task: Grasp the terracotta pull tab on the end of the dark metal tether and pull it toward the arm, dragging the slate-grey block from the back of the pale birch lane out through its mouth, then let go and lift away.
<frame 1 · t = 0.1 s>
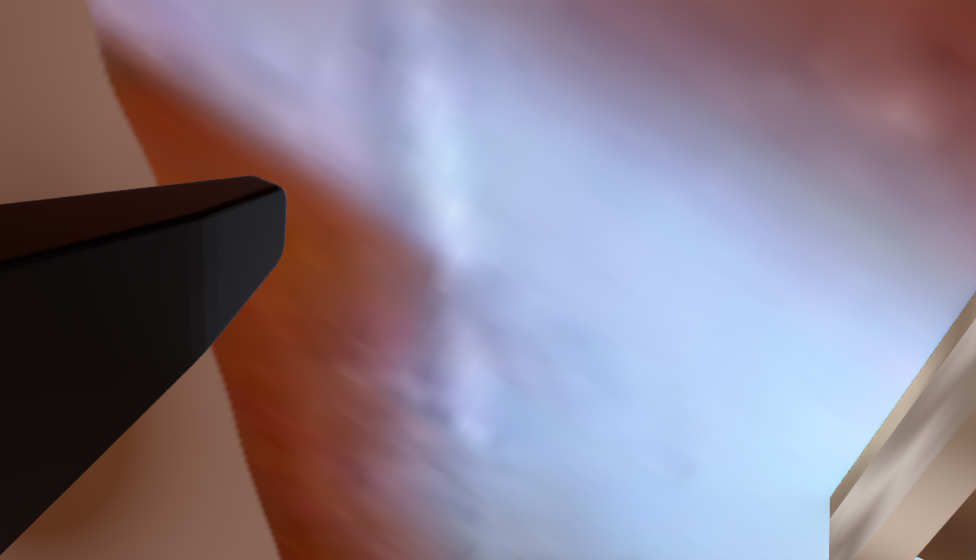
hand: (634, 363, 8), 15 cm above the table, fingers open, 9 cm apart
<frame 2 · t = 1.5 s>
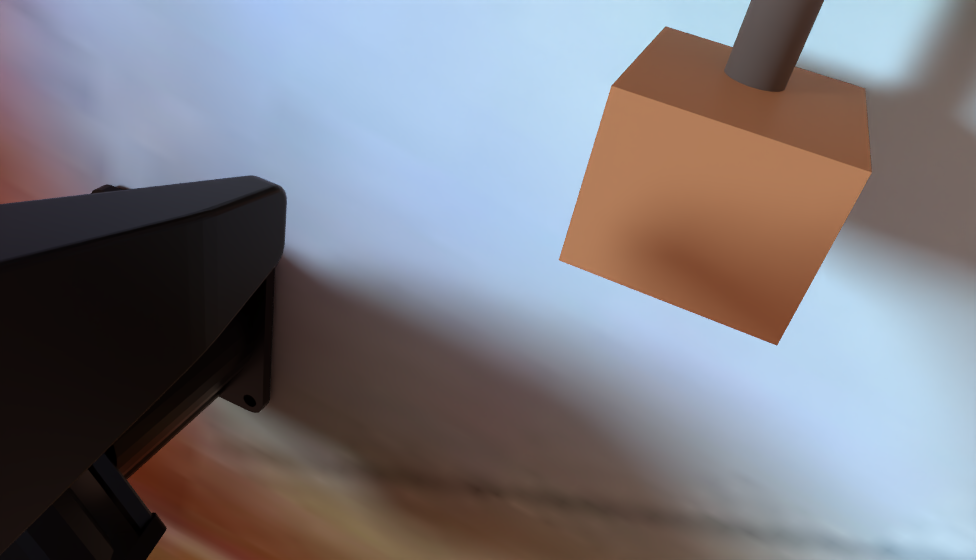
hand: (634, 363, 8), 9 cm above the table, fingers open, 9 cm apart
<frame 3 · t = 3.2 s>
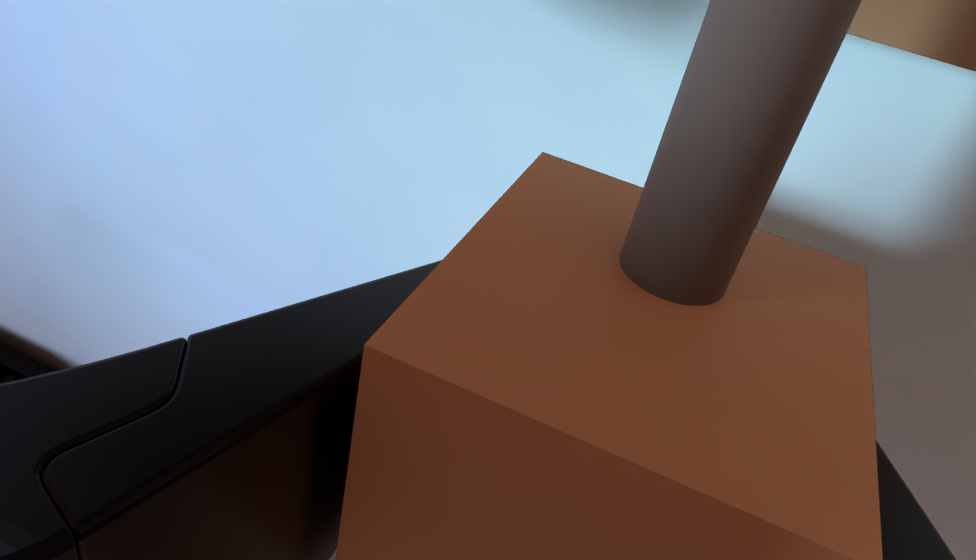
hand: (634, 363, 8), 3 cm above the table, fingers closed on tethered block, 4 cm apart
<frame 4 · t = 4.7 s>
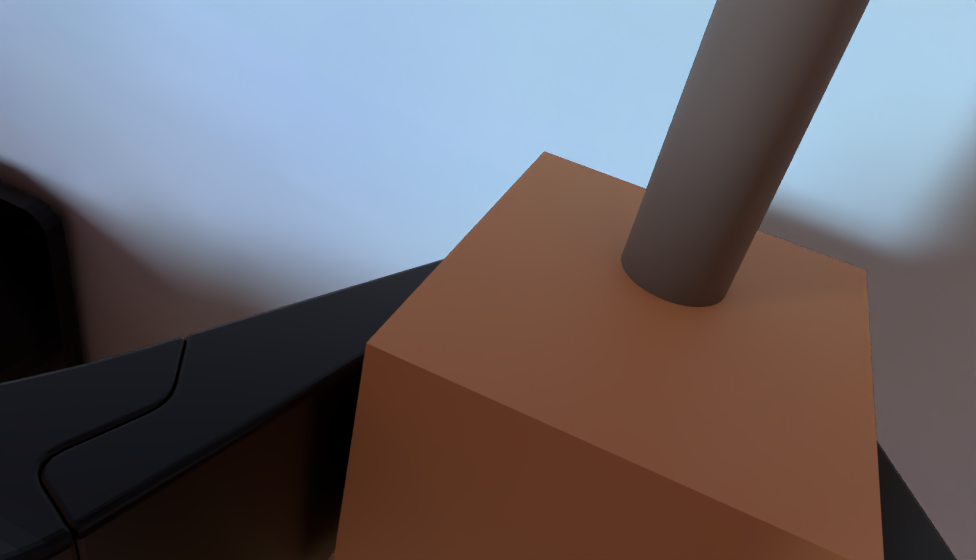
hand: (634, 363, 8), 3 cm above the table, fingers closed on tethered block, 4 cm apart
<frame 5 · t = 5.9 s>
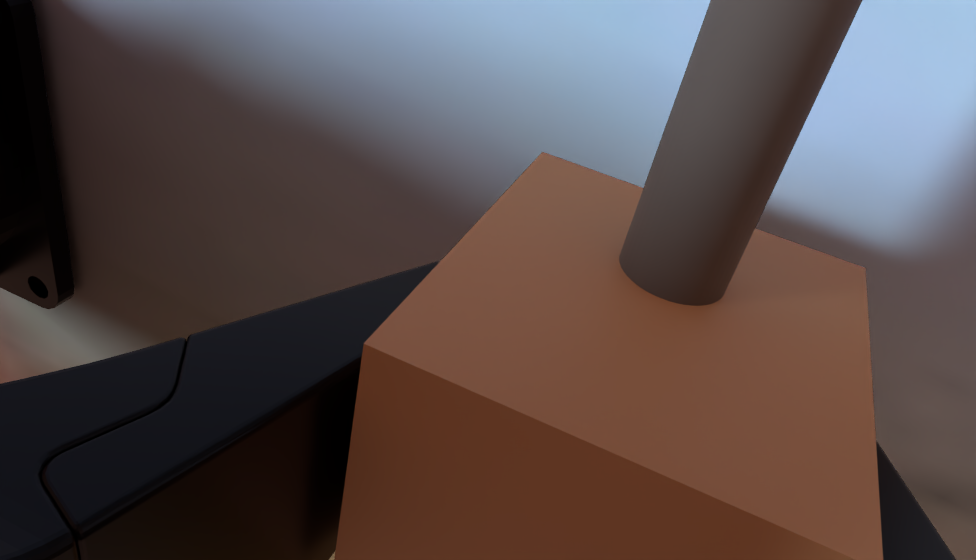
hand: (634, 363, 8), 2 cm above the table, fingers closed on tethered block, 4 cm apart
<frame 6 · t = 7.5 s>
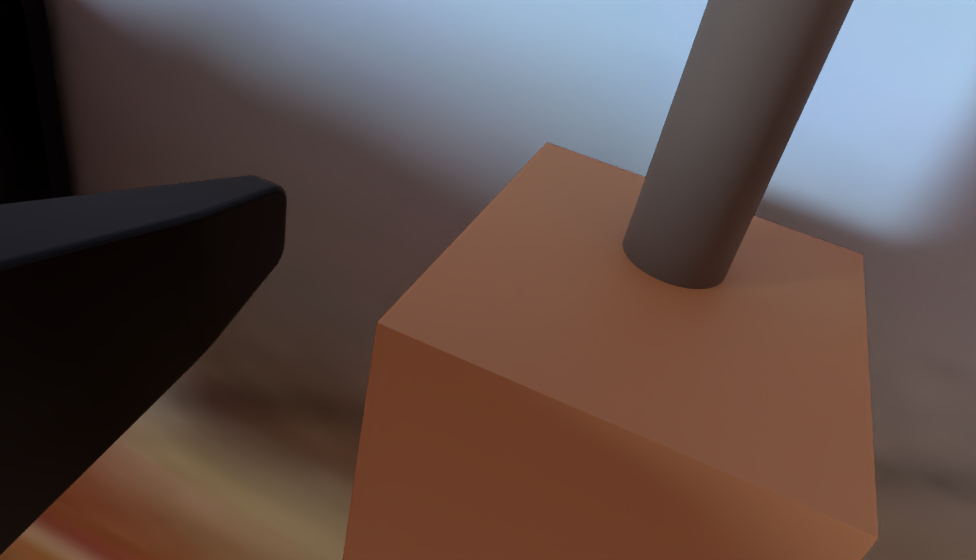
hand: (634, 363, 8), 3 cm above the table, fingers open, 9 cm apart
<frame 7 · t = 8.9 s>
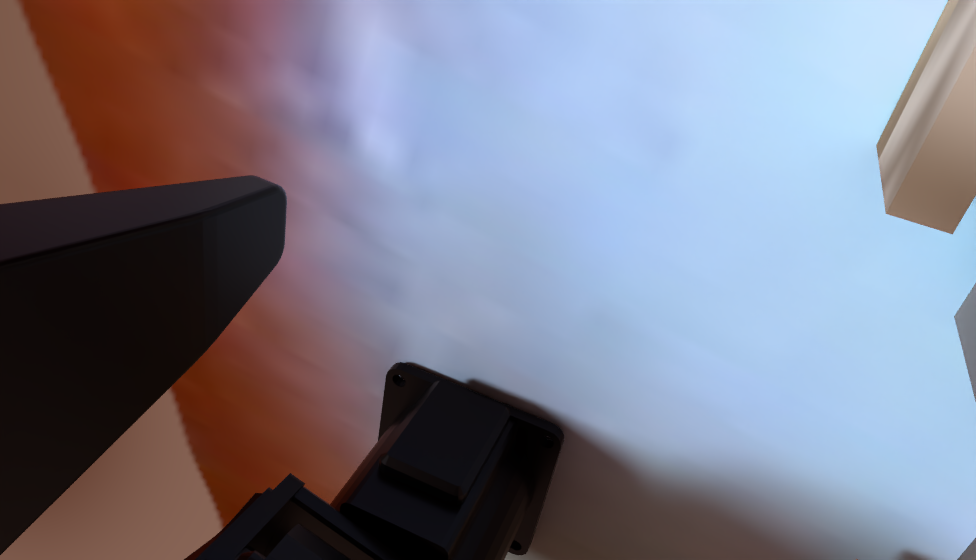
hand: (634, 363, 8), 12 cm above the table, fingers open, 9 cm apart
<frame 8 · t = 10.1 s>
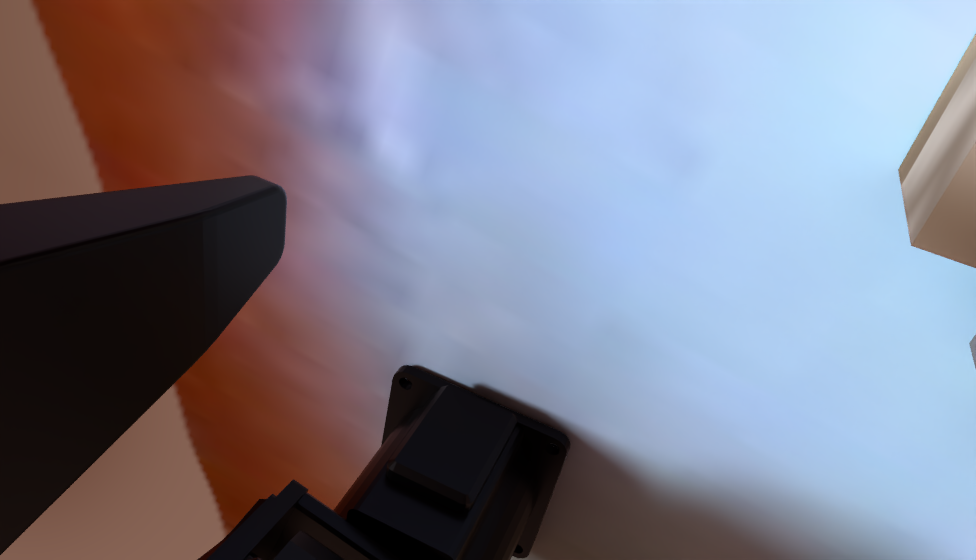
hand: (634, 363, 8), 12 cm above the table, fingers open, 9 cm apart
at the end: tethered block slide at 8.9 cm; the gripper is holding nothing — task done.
